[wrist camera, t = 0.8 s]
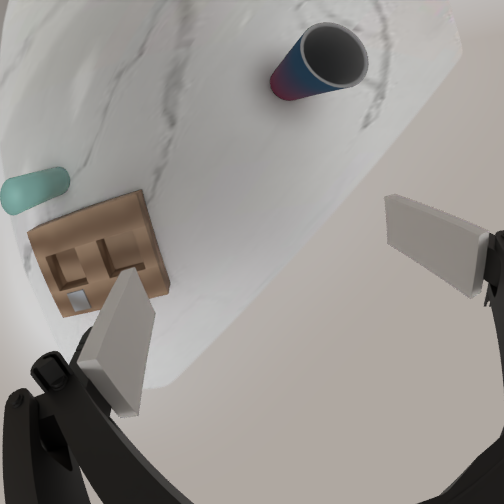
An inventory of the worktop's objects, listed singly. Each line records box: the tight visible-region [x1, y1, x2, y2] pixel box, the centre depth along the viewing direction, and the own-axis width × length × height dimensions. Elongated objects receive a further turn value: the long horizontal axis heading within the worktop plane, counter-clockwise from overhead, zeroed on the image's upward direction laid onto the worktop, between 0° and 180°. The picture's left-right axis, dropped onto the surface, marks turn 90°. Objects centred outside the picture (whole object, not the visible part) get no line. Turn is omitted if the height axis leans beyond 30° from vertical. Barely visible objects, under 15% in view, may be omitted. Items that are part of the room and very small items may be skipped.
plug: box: [0, 167, 70, 215], centre depth 27 cm, size 4×4×12 cm
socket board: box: [27, 189, 170, 318], centre depth 36 cm, size 14×18×4 cm
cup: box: [270, 22, 369, 101], centre depth 27 cm, size 7×7×15 cm
